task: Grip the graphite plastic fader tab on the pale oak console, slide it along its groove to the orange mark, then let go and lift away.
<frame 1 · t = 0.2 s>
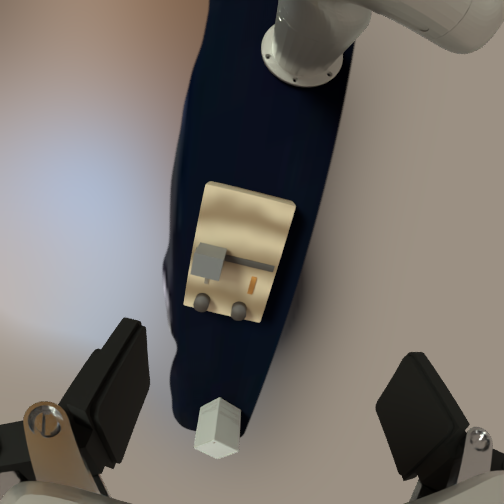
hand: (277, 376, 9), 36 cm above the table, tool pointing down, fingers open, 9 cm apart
supplement box: (220, 408, 60), on the table
fader tab: (209, 261, 39), point 7 cm above the table, slide at -3.5 cm
fader console: (236, 250, 46), on the table
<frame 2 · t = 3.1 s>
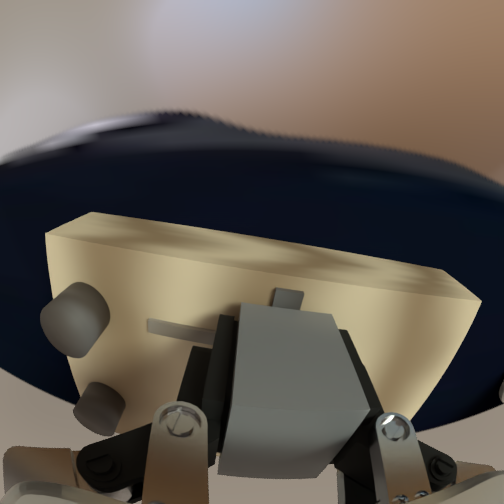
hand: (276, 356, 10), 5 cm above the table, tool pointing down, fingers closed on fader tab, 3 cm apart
fader tab: (279, 395, 8), point 7 cm above the table, slide at -3.5 cm, touching gripper
fader console: (258, 348, 15), on the table
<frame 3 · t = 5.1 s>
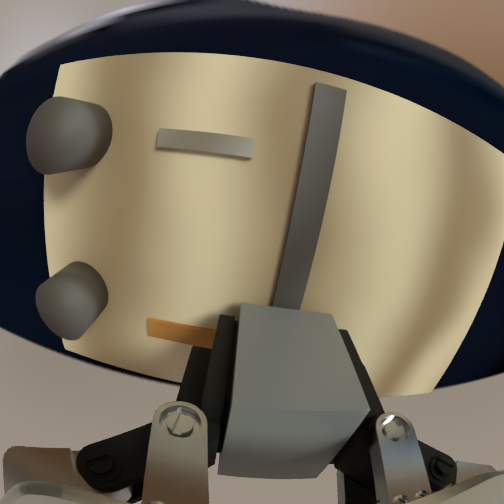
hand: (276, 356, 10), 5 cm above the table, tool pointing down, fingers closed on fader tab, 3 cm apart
fader tab: (279, 395, 8), point 7 cm above the table, slide at 3.4 cm, touching gripper
fader console: (284, 232, 13), on the table
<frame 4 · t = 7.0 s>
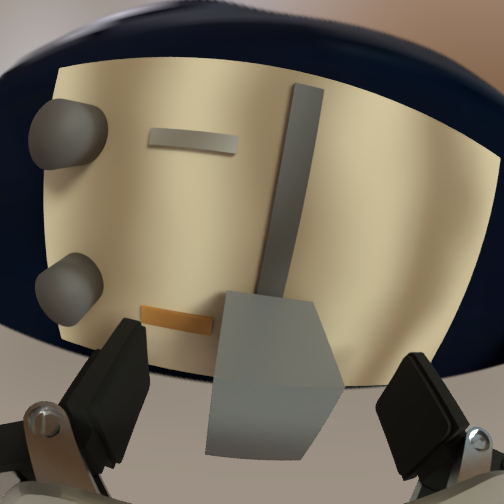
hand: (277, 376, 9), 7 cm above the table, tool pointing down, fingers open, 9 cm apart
fader tab: (263, 378, 9), point 7 cm above the table, slide at 3.5 cm
fader console: (270, 225, 14), on the table
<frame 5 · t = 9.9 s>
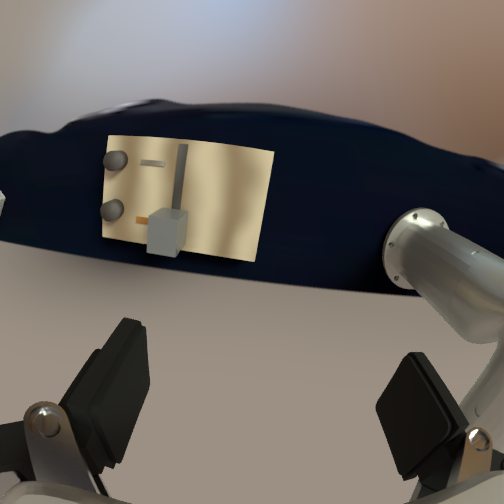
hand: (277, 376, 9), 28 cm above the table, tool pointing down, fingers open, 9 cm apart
fader tab: (168, 230, 30), point 7 cm above the table, slide at 3.5 cm
fader console: (185, 191, 35), on the table
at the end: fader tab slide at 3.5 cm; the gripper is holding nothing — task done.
